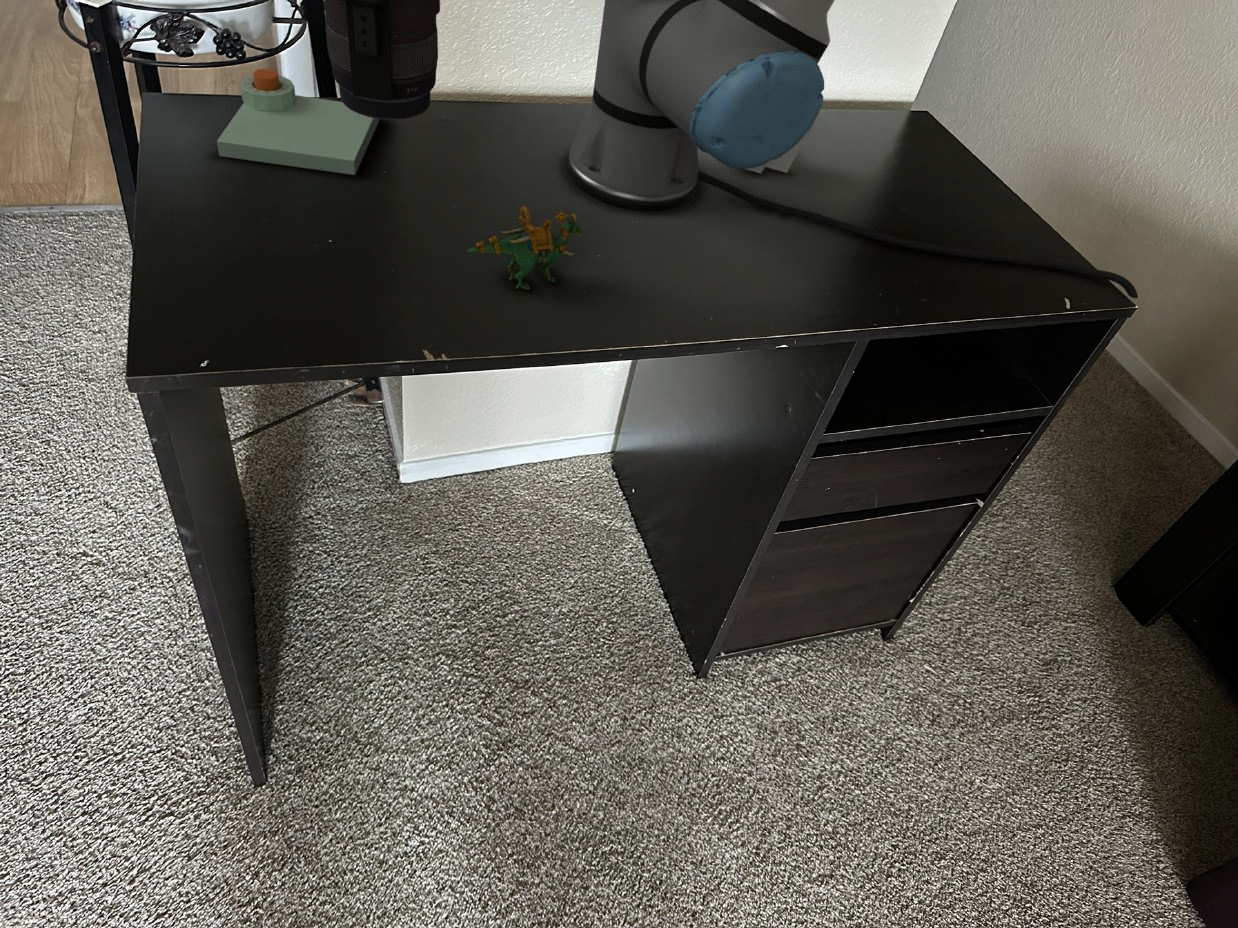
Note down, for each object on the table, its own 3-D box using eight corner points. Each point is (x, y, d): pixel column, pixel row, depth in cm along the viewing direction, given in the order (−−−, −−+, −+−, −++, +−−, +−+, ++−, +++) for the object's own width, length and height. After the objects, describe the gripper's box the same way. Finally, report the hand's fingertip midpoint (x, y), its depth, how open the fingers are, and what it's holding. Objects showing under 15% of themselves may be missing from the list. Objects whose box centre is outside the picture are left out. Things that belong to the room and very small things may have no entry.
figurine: (583, 279, 86) (594, 205, 80) (472, 304, 80) (475, 226, 74) (568, 262, 87) (577, 188, 81) (458, 285, 82) (460, 208, 76)
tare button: (282, 84, 97) (281, 71, 96) (276, 94, 96) (274, 80, 94) (258, 81, 97) (256, 67, 96) (252, 91, 95) (250, 76, 94)
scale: (379, 119, 102) (378, 90, 99) (355, 175, 92) (353, 144, 90) (253, 101, 100) (249, 70, 98) (215, 156, 91) (209, 123, 88)
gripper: (334, -361, 56) (359, 13, 72) (240, -332, 41) (298, 127, 58) (452, -338, 56) (451, 27, 73) (400, -302, 42) (413, 142, 58)
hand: (383, 71), depth 65 cm, fingers closed on camera lens, 8 cm apart
